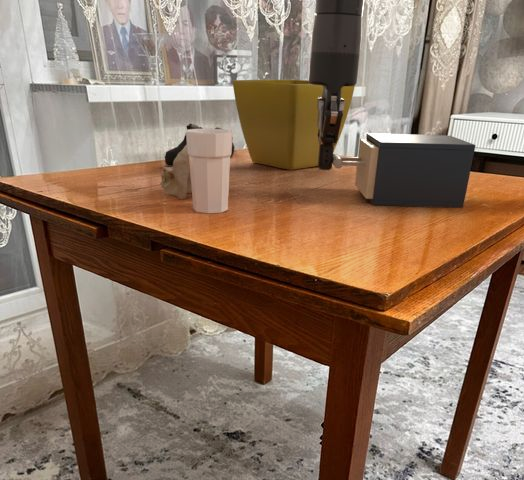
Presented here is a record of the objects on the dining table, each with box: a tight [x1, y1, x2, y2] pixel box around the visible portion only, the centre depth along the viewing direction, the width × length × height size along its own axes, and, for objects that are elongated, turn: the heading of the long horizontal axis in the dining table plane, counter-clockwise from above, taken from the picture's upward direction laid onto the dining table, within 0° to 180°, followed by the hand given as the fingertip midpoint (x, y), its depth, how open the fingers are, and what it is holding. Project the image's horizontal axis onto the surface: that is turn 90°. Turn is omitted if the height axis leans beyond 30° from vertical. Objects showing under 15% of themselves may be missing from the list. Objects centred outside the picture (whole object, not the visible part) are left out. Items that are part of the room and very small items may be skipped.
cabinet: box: [365, 132, 476, 209], centre depth 90 cm, size 15×13×10 cm
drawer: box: [332, 138, 379, 200], centre depth 90 cm, size 19×11×8 cm, turn 90°
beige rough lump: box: [160, 144, 192, 200], centre depth 88 cm, size 9×6×10 cm
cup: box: [185, 128, 233, 214], centre depth 79 cm, size 7×7×11 cm
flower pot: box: [232, 79, 356, 171], centre depth 118 cm, size 19×19×17 cm
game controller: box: [164, 123, 236, 167], centre depth 112 cm, size 16×7×10 cm, turn 43°
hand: (324, 168), depth 90 cm, fingers closed
